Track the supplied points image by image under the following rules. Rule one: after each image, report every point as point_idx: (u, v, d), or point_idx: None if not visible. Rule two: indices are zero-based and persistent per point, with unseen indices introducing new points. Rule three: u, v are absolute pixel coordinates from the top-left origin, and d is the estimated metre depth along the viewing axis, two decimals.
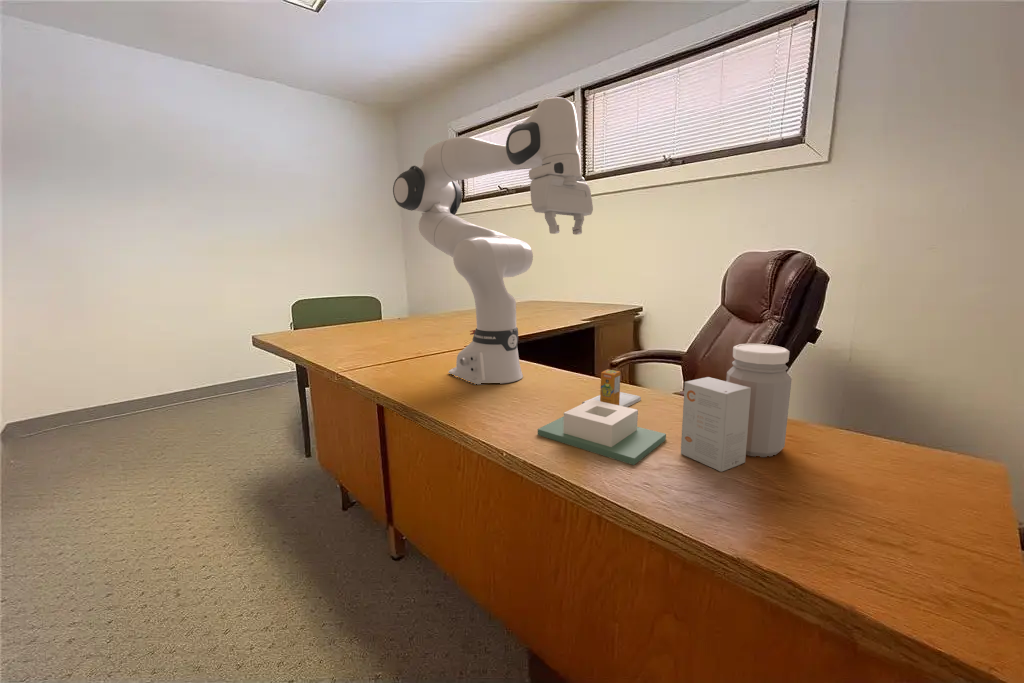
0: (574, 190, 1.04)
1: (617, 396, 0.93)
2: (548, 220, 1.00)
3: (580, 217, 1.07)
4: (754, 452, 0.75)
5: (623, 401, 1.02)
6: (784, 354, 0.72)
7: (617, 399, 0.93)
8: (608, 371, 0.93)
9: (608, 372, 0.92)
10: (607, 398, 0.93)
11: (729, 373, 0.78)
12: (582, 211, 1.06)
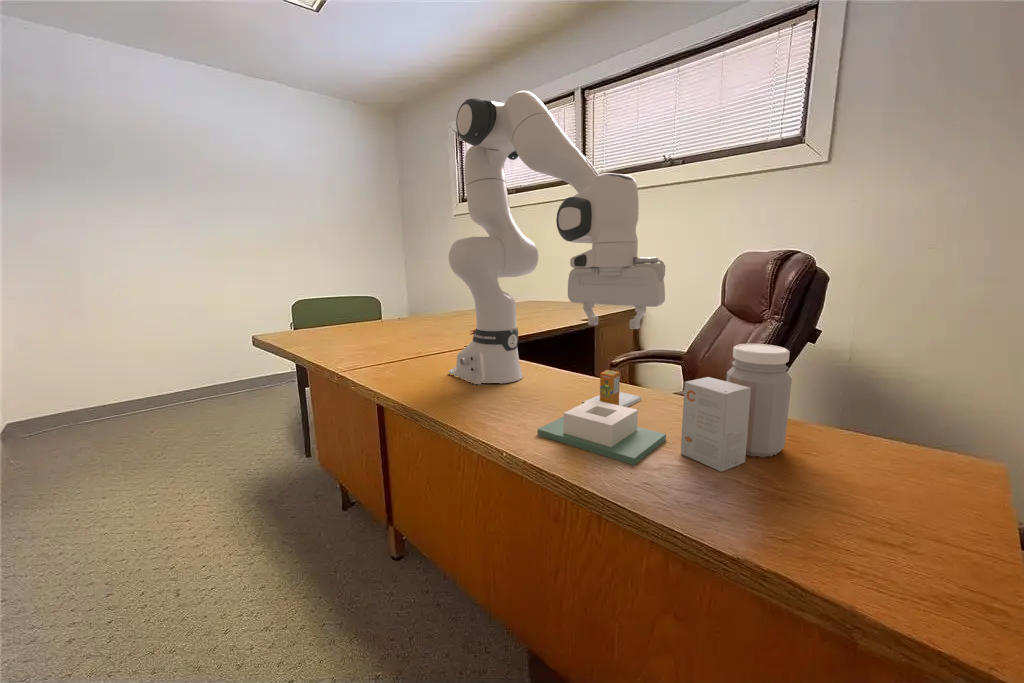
0: (621, 278, 0.87)
1: (617, 396, 0.93)
2: None
3: None
4: (754, 452, 0.75)
5: (623, 401, 1.02)
6: (784, 354, 0.72)
7: (617, 399, 0.93)
8: (607, 372, 0.93)
9: (607, 373, 0.92)
10: (607, 399, 0.93)
11: (729, 373, 0.78)
12: (631, 303, 0.86)
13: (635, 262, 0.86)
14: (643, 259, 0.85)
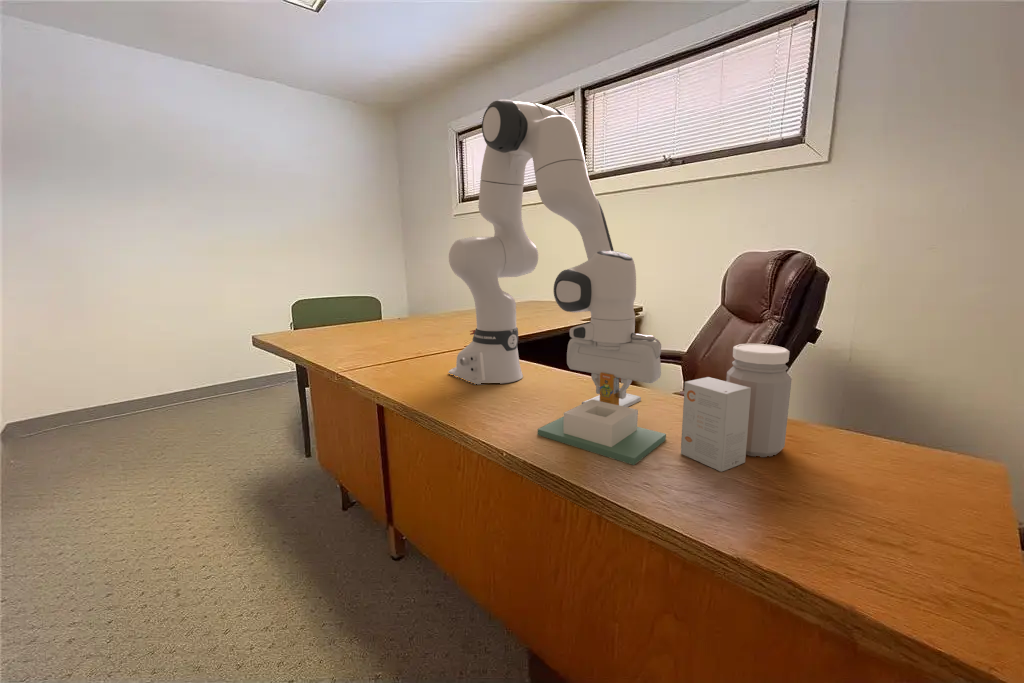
0: (619, 353, 0.90)
1: None
2: None
3: (621, 381, 0.91)
4: (754, 452, 0.75)
5: (623, 401, 1.02)
6: (784, 354, 0.72)
7: (617, 399, 0.93)
8: None
9: None
10: (606, 399, 0.93)
11: (729, 373, 0.78)
12: (628, 378, 0.89)
13: (632, 338, 0.89)
14: (640, 336, 0.87)
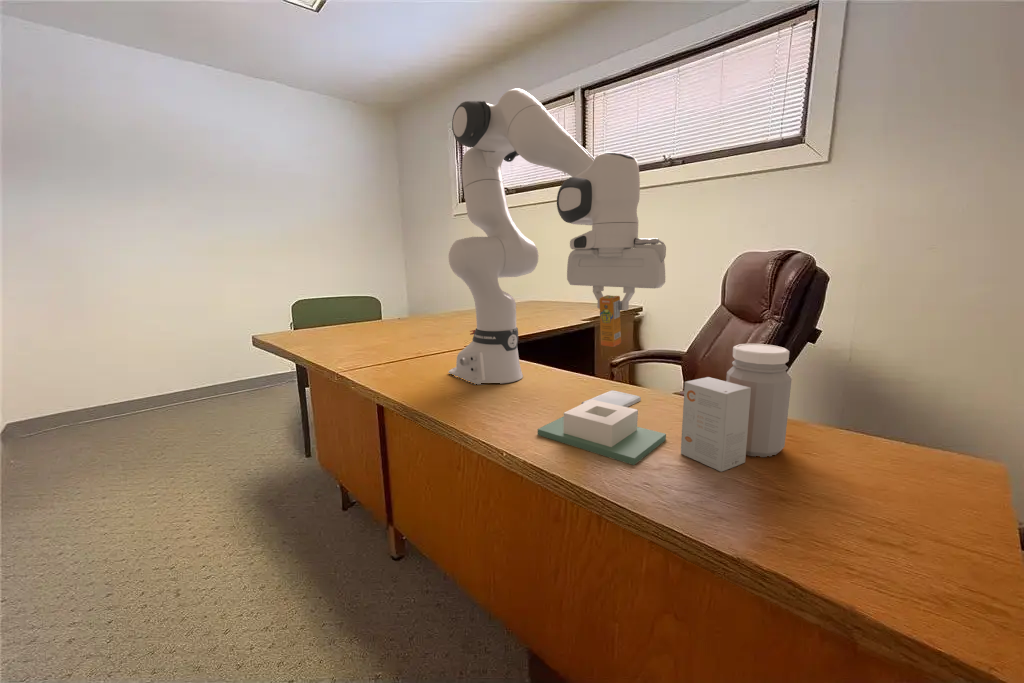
0: (621, 260, 0.86)
1: (618, 322, 0.90)
2: None
3: (624, 291, 0.87)
4: (754, 452, 0.75)
5: (623, 401, 1.02)
6: (784, 354, 0.72)
7: (618, 325, 0.90)
8: (607, 296, 0.89)
9: (606, 297, 0.88)
10: (607, 324, 0.89)
11: (729, 373, 0.78)
12: (631, 285, 0.85)
13: (635, 243, 0.85)
14: (644, 240, 0.83)
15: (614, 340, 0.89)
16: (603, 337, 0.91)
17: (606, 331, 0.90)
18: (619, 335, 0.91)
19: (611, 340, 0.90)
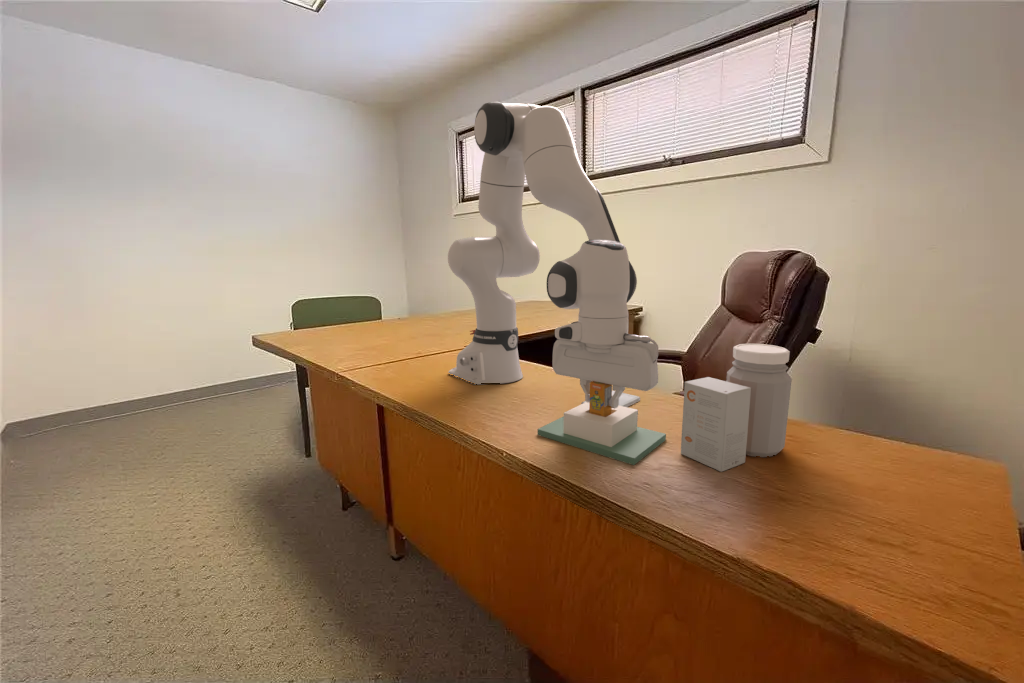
0: (610, 356, 0.79)
1: (608, 409, 0.82)
2: None
3: (613, 388, 0.80)
4: (754, 452, 0.75)
5: (623, 401, 1.02)
6: (784, 354, 0.72)
7: (608, 412, 0.82)
8: None
9: (597, 382, 0.81)
10: (597, 411, 0.82)
11: (729, 373, 0.78)
12: (621, 384, 0.78)
13: (625, 339, 0.77)
14: (634, 337, 0.76)
15: None
16: None
17: None
18: None
19: None
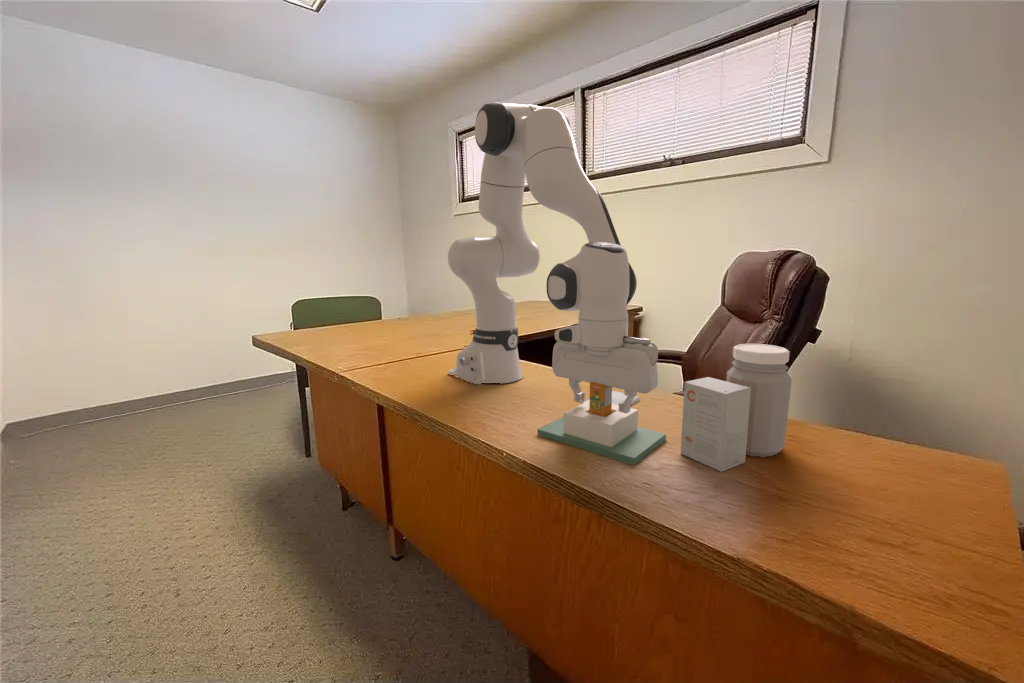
0: (610, 358, 0.79)
1: (608, 409, 0.82)
2: None
3: (625, 393, 0.79)
4: (754, 452, 0.75)
5: None
6: (784, 354, 0.72)
7: (608, 412, 0.82)
8: None
9: None
10: (597, 411, 0.82)
11: (729, 373, 0.78)
12: (621, 387, 0.78)
13: (625, 342, 0.78)
14: (634, 339, 0.76)
15: None
16: None
17: None
18: None
19: None
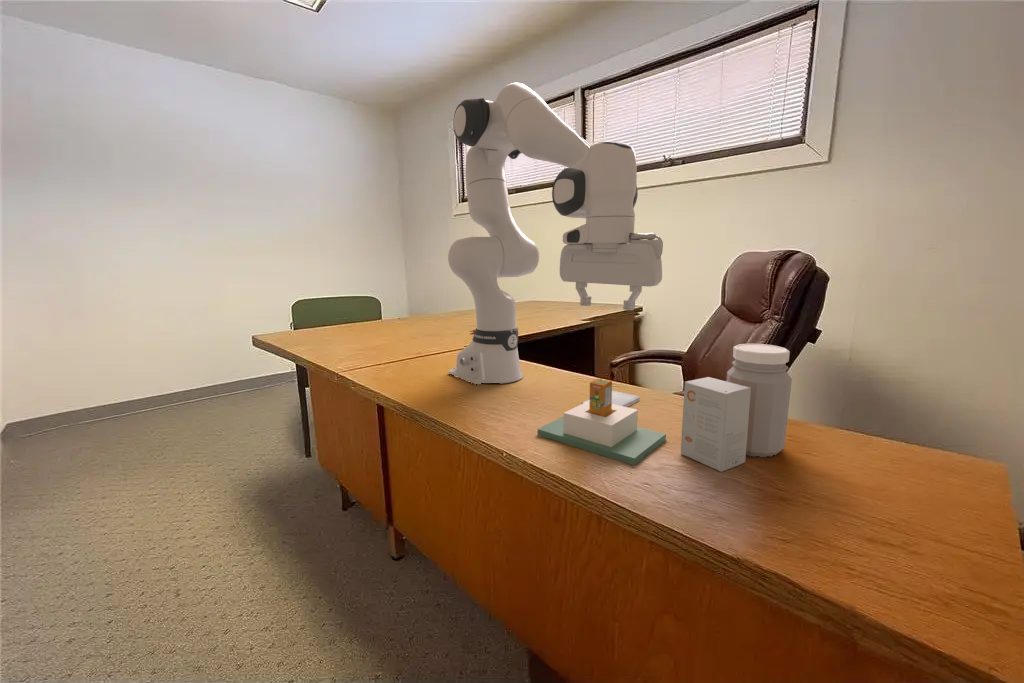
0: (616, 256, 0.81)
1: (608, 409, 0.82)
2: None
3: (630, 289, 0.81)
4: (754, 452, 0.75)
5: (622, 401, 1.02)
6: (784, 354, 0.72)
7: (608, 412, 0.82)
8: (598, 381, 0.82)
9: (597, 382, 0.81)
10: (597, 411, 0.82)
11: (729, 373, 0.78)
12: (626, 283, 0.81)
13: (631, 238, 0.80)
14: (640, 235, 0.79)
15: None
16: None
17: None
18: None
19: None
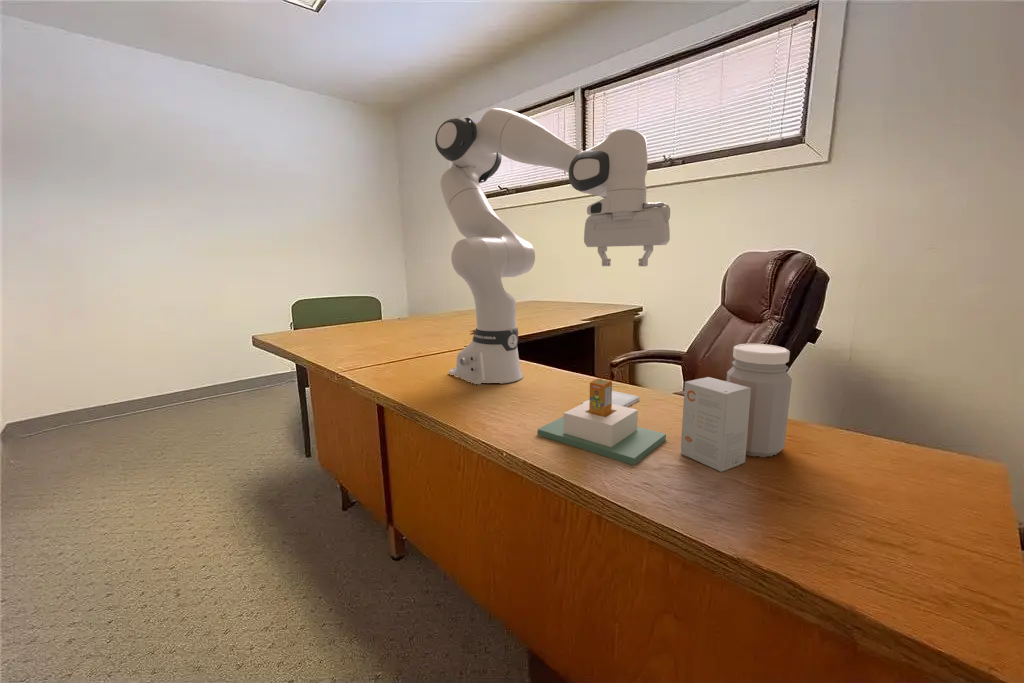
0: (632, 222, 1.00)
1: (608, 409, 0.82)
2: None
3: (644, 249, 1.00)
4: (754, 452, 0.75)
5: (622, 401, 1.01)
6: (784, 354, 0.72)
7: (608, 412, 0.82)
8: (598, 381, 0.82)
9: (597, 382, 0.81)
10: (597, 411, 0.82)
11: (729, 373, 0.78)
12: (641, 243, 1.00)
13: (644, 207, 0.99)
14: (651, 204, 0.98)
15: None
16: None
17: None
18: None
19: None
